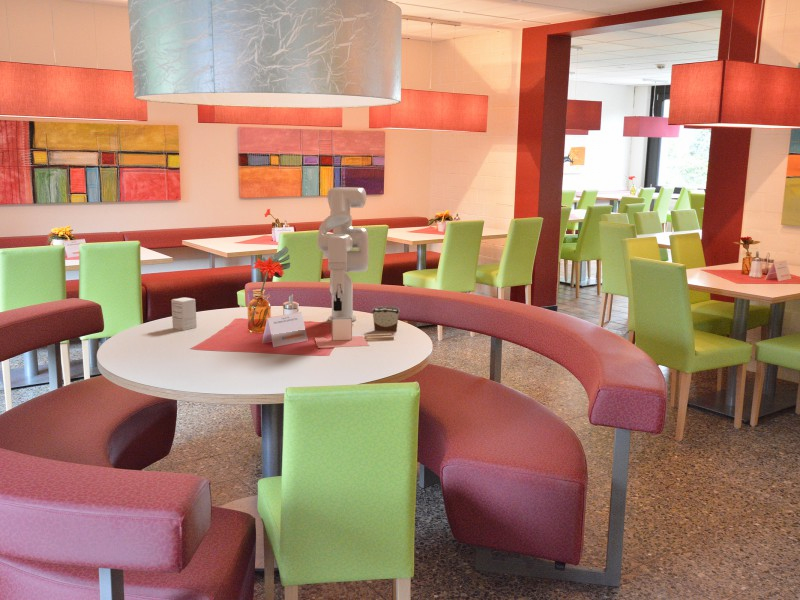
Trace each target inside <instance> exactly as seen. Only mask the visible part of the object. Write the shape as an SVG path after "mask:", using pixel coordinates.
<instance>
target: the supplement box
mask: <svg viewBox="0 0 800 600" xmlns="http://www.w3.org/2000/svg"><path fill="white" fill-rule="evenodd" d="M170 302H171V317H172V318H171V319H172V328H173V329H175V330H179V331H187V330H191V329H195V328H197V307H196V304H197V303H196V299H195V298H191V297H186V296H185V297H179V298H173V299H171V301H170Z"/></svg>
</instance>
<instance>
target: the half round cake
mask: <svg viewBox="0 0 800 600" xmlns="http://www.w3.org/2000/svg"><path fill="white" fill-rule="evenodd" d="M371 314H372V315H373V316H372V318H373V327H374V332H376V331H377V332H378V331H379V332H398V323H399V315H400V314H401V311H400V308H399V307H396V306H386V305H385V306H384V305H383V306H375V307H372V309H371Z"/></svg>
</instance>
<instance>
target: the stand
mask: <svg viewBox="0 0 800 600" xmlns="http://www.w3.org/2000/svg"><path fill="white" fill-rule="evenodd" d="M394 337H395V336H393V333H374V334H372V333H371V334H364V339H365V340H366V342H379V341H380V342H381V341H394V340H395V338H394Z"/></svg>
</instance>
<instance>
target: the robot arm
mask: <svg viewBox="0 0 800 600" xmlns="http://www.w3.org/2000/svg"><path fill="white" fill-rule="evenodd" d="M326 196H327V203H328V207H329V209H330V215H328V216H327V217H325V219H324V220H323V221H322V222H321V224H320V225H319V228H318V236H317V247H318V249H319V250H320V251H321V252H325V253H327V259H328V261H327V262H328V263H327V264H328V265H327V270H328V271H330V273H329V275H330V276H329V292H330V293H331V315H329V316H328V321H330V322H332V318H345V317H351V318H352V322H354V321H356V320H357V317H356V316H355V315H354V314H353V313H354V311H353V308H354V306H353V305H354V304H353V302H354V301H353V299H354V298H353V294H354V291H353V288H354V287H353V280H352V277H351V276H350V275H349V274H348V273H364V272H366V271H367V270H368V267H369V261H370V260H369V259H370V258H369V253H370V251H369V250H370V249H369V248H370V247H369V241H370V240H369V234H368V230H367V229H366V228H364V227H359V226H358V227H356V226H355V227H354V226H353V217H352V214H351V209H353V208H354V209H356V208H357V209H361V208H364V207H365V206H366V203H367V192H366V190H365V188H364V187H356V186H355V187H354V186H351V187H346V186H345V187H344V186H340V187H331V188H330V189H328V191H327V195H326ZM331 230H333V231H332V232H333V233H328V232H330V231H331ZM351 249H357V250H351Z"/></svg>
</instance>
